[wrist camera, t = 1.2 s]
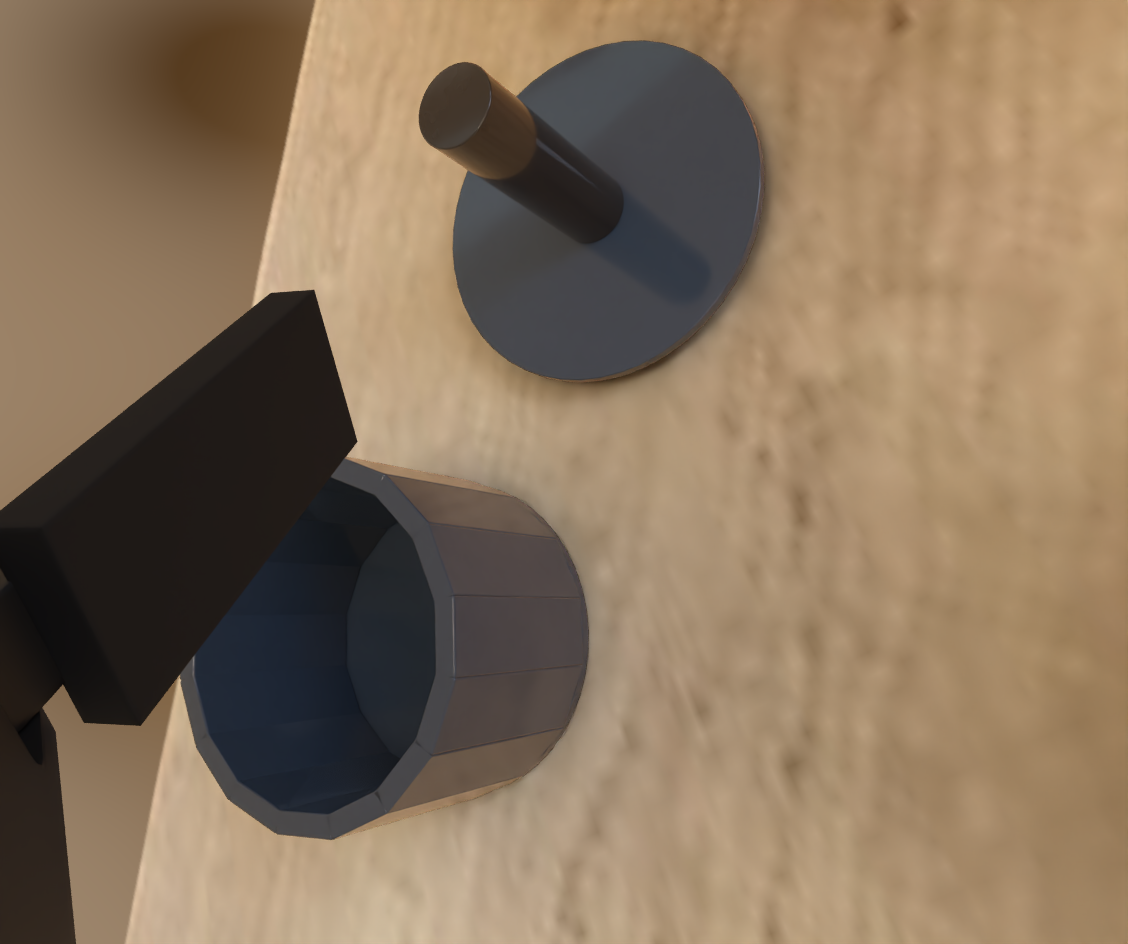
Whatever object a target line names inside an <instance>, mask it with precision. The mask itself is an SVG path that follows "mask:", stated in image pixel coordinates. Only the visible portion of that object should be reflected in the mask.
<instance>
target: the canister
mask: <svg viewBox="0 0 1128 944" xmlns="http://www.w3.org/2000/svg"><path fill="white" fill-rule="evenodd" d="M588 634H589V630H588V620H587V610H586V605H585V600H584V595H583V591H582V587H581V584H580V581H579V578H578V575H577V572H576V569H575V567H574V565H573V563H572V561H571V559H570V556H569V554H568V552H567V550H566V549H565V547H564V546H563V544H562V542H561V541H560V539H559V538H558V536H557V535H556V533H555V532H554V531H553V530H552V528H551V527H550V526H549V525H548V524H547V523H546V521H545V520H544V519H543V518H542V517H541V516H540V515H538V514H537V513H536V512H535V511H534V510H533V509H532V508H531V507H529V506H528V505H526V504H525V503H523V502H522V501H520V500H519V499H517V498H516V497H514V496H511V495H509V494H507V493H505V492H503V491H500V490H497V489H494V488H490V487H487V486H483V485H481V484H478V483H475V482H472V481H469V480H464V479H459V478H454V477H449V476H443V475H438V474H433V473H428V472H423V471H418V470H413V469H407V468H402V467H397V466H392V465H387V464H382V463H377V462H371V461H366V460H361V459H356V458H351V457H345V459H344V460H343V461H342V462H341V464H340V465H339V466H338V468H337V469H336V470H335V472H334V473H333V474H332V476H331V477H330V478H329V480H328V481H327V482H326V483H325V485H324V486H323V487H322V489H321V490H320V491H319V493H318V494H317V495H316V497H315V498H314V499H313V500H312V502H311V503H310V504H309V506H308V507H307V508H306V510H305V511H304V512H303V514H302V515H301V516H300V518H299V519H298V520H297V521H296V523H295V524H294V525H293V527H292V528H291V529H290V531H289V532H288V533H287V535H286V536H285V537H284V538H283V540H282V541H281V542H280V544H279V545H278V546H277V548H276V549H275V550H274V552H273V553H272V554H271V556H270V557H269V558H268V559H267V561H266V562H265V563H264V565H263V566H262V567H261V569H260V570H259V571H258V573H257V574H256V575H255V576H254V578H253V579H252V580H251V582H250V583H249V584H248V586H247V587H246V588H245V590H244V591H243V592H242V594H241V595H240V596H239V597H238V599H237V600H236V601H235V603H234V604H233V605H232V607H231V608H230V609H229V611H228V612H227V613H226V615H225V616H224V617H223V618H222V620H221V621H220V622H219V624H218V625H217V626H216V628H215V629H214V630H213V632H212V633H211V634H210V635H209V637H208V638H207V639H206V641H205V642H204V643H203V645H202V646H201V647H200V649H199V650H198V651H197V653H196V654H195V655H194V656H193V658H192V659H191V660H190V662H189V663H188V664H187V666H186V667H185V668H184V670H183V671H182V672H181V673H180V679H181V687H182V691H183V695H184V699H185V703H186V707H187V711H188V716H189V720H190V724H191V728H192V732H193V736H194V740H195V744H196V748H197V750H198V751H199V753H200V755H201V756H202V758H203V759H204V761H205V763H206V764H207V766H208V768H209V769H210V771H211V773H212V774H213V776H214V777H215V779H216V781H217V782H218V784H219V786H220V787H221V789H222V791H223V792H224V794H225V796H226V797H227V799H228V800H230V801H231V802H232V803H234V804H235V805H236V806H238V807H239V808H241V809H242V810H243V811H245V812H246V813H248V814H249V815H250V816H252V817H253V818H255V819H256V820H257V821H259V822H260V823H262V824H263V825H264V826H266V827H267V828H269V829H270V830H271V831H273V832H274V833H276V834H278V835H287V836H297V837H307V838H317V839H326V840H334V839H337V838H341V837H344V836H348V835H351V834H355V833H358V832H361V831H365V830H368V829H372V828H375V827H379V826H382V825H385V824H389V823H392V822H396V821H399V820H403V819H406V818H409V817H413V816H416V815H420V814H423V813H427V812H430V811H433V810H437V809H440V808H444V807H447V806H451V805H454V804H457V803H461V802H464V801H468V800H471V799H475V798H478V797H480V796H482V795H484V794H486V793H488V792H490V791H493V790H495V789H498V788H500V787H503V786H506V785H508V784H510V783H512V782H513V781H515V780H517V779H519V778H521V777H523V776H524V775H526V774H527V773H528V772H529V771H530V770H531V769H533V768H534V767H535V766H536V765H538V764H539V763H540V761H541V760H542V759H543V758H544V757H545V756H546V755H547V754H548V753H549V752H550V751H551V750H552V748H553V747H554V745H555V744H556V743H557V741H558V740H559V738H560V737H561V736H562V734H563V732H564V730H565V729H566V727H567V725H568V723H569V721H570V719H571V717H572V715H573V713H574V710H575V708H576V705H577V702H578V700H579V697H580V694H581V690H582V686H583V682H584V678H585V673H586V666H587V658H588Z"/></svg>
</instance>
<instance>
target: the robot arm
mask: <svg viewBox="0 0 1128 944" xmlns="http://www.w3.org/2000/svg"><path fill="white" fill-rule="evenodd" d="M356 443H357V438H356V435H355V431H354V428H353V424H352V421H351V417H350V414H349V410H348V407H347V403H346V400H345V396H344V393H343V389H342V386H341V382H340V379H339V375H338V372H337V368H336V365H335V361H334V358H333V354H332V351H331V347H330V344H329V340H328V337H327V333H326V330H325V326H324V323H323V319H322V315H321V312H320V308H319V305H318V301H317V298H316V294H315V291H314V290H306V291H292V292H278V293H270V294H269V295H268V296H266V297H265V298H264V299H263V300H262V301H260V302H259V303H258V304H257V305H255V306H254V307H253V308H252V309H250V310H249V311H248V312H247V313H245V314H244V315H243V316H242V317H240V318H239V319H238V320H237V321H235V322H234V323H233V324H232V325H230V326H229V327H228V328H227V329H226V330H224V331H223V332H222V333H221V334H219V335H218V336H217V337H216V338H214V339H213V340H212V341H211V342H209V343H208V344H207V345H206V346H204V347H203V348H202V349H201V350H199V351H198V352H197V353H196V354H194V355H193V356H192V357H191V358H189V359H188V360H187V361H186V362H184V363H183V364H182V365H181V366H179V368H177V369H176V370H175V371H173V372H172V373H171V374H169V375H168V376H167V377H166V378H165V379H163V380H162V381H161V382H160V383H158V384H157V385H156V386H155V387H153V388H152V389H151V390H150V391H148V392H147V393H146V394H145V395H143V396H142V397H141V398H140V399H139V400H137V401H136V402H135V403H133V404H132V405H131V406H130V407H128V408H127V409H126V410H125V411H123V413H121V414H120V415H118V416H117V417H116V418H115V419H114V420H112V421H111V422H110V423H109V424H107V425H106V426H105V427H104V428H102V429H101V430H100V431H99V432H97V433H96V434H95V435H94V436H92V437H91V438H90V439H89V440H87V441H86V442H85V443H84V444H82V445H81V446H80V447H79V448H78V449H76V450H75V451H74V452H72V453H71V454H70V455H69V456H67V457H66V458H65V459H64V460H63V461H62V462H60V463H59V464H58V465H56V466H55V467H54V468H53V469H51V470H50V471H49V472H48V473H46V474H45V475H44V476H43V477H41V478H40V479H39V480H38V481H36V482H35V483H34V484H33V485H32V486H30V487H29V488H28V489H26V490H25V491H24V492H23V493H21V494H20V495H19V496H18V497H16V498H15V499H14V500H13V501H12V502H10V503H9V504H8V505H7V506H5V507H4V508H3V509H2V510H0V944H76V939H75V929H74V919H73V909H72V898H71V888H70V877H69V866H68V856H67V846H66V836H65V825H64V815H63V804H62V794H61V784H60V773H59V763H58V752H57V742H56V732H55V730H54V728H53V726H52V724H51V723H50V721H49V719H48V717H47V715H46V713H45V712H44V710H43V708H42V707H43V706H44V704H46V703H47V701H48V700H49V699H50V698H51V697H52V696H53V695H54V693H56V691H57V690H58V689H59V688H60V687H61V686H62V685H64V687H65V689H66V690H67V692H68V694H69V696H70V698H71V700H72V702H73V703H74V705H75V707H76V709H77V711H78V712H79V715H80V716H81V718H82V720H83V722H84V723H97V724H117V725H136V726H141V725H142V723H143V722H144V721H145V719H146V718H147V717H148V715H149V714H150V713H151V711H152V710H153V709H154V708H155V706H156V705H157V703H158V702H159V701H160V700H161V698H162V697H163V696H164V694H165V693H166V692H167V691H168V689H169V688H170V687H171V685H172V684H173V683H174V681H175V680H176V679H177V677H178V676H179V675H180V673H181V672H182V671H183V670H184V668H185V667H186V666H187V664H188V663H189V662H190V660H191V659H192V658H193V656H194V655H195V654H196V653H197V651H198V650H199V649H200V647H201V646H202V645H203V643H204V642H205V641H206V639H207V638H208V637H209V635H210V634H211V633H212V632H213V630H214V629H215V628H216V626H217V625H218V624H219V622H220V621H221V620H222V618H223V617H224V616H225V615H226V613H227V612H228V611H229V609H230V608H231V607H232V605H233V604H234V603H235V601H236V600H237V599H238V597H239V596H240V595H241V594H242V592H243V591H244V590H245V588H246V587H247V586H248V584H249V583H250V582H251V580H252V579H253V578H254V576H255V575H256V574H257V573H258V571H259V570H260V569H261V567H262V566H263V565H264V563H265V562H266V561H267V559H268V558H269V557H270V556H271V554H272V553H273V552H274V550H275V549H276V548H277V546H278V545H279V544H280V542H281V541H282V540H283V538H284V537H285V536H286V535H287V533H288V532H289V531H290V529H291V528H292V527H293V525H294V524H295V523H296V521H297V520H298V519H299V518H300V516H301V515H302V514H303V512H304V511H305V510H306V508H307V507H308V506H309V504H310V503H311V502H312V500H313V499H314V498H315V497H316V495H317V494H318V493H319V491H320V490H321V489H322V487H323V486H324V485H325V483H326V482H327V481H328V480H329V478H330V477H331V476H332V474H333V473H334V472H335V470H336V469H337V468H338V466H339V465H340V464H341V462H342V461H343V460H344V459H345V457H346V456H347V455H348V453H349V452H350V451H351V449H352V448H353V447H354V445H355V444H356Z"/></svg>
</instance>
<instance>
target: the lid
mask: <svg viewBox="0 0 1128 944" xmlns="http://www.w3.org/2000/svg"><path fill="white" fill-rule="evenodd" d="M419 126H420V130H421V133H422V135H423V137H424V139H425V140H426V141H427V143H429V144H430V145H431V146H432V147H434V148H435V149H437V150H438V151H440V152H441V153H443V154H444V155H446V156H447V157H449V158H450V159H452V160H453V161H455V162H456V163H458V164H459V165H461V166H462V167H464V168H465V169H467V170H468V171H467V174H466V177H465V180H464V183H463V185H462V188H461V192H460V196H459V200H458V204H457V208H456V215H455V222H454V229H453V259H454V270H455V275H456V280H457V285H458V289H459V292H460V295H461V298H462V301H463V304H464V306H465V308H466V310H467V312H468V314H469V316H470V318H471V321H472V322H473V324H474V325H475V327H476V328H477V330H478V331H479V333H480V334H481V336H482V337H483V338H484V339H485V340H486V341H487V342H488V343H489V344H490V346H491V347H492V348H493V349H494V350H495V351H497V352H498V353H499V354H500V355H502V356H503V357H504V358H505V359H507V360H508V361H510V362H511V363H513V364H515V365H517V366H519V367H520V368H522V369H524V370H526V371H529V372H531V373H534V374H537V375H540V376H542V377H545V378H549V379H554V380H559V381H564V382H594V381H603V380H608V379H612V378H616V377H620V376H624V375H627V374H630V373H632V372H635V371H637V370H640V369H642V368H645V367H647V366H649V365H651V364H652V363H654V362H656V361H658V360H660V359H661V358H663V357H665V356H667V355H668V354H670V353H671V352H672V351H674V350H675V349H676V348H678V347H679V346H680V345H682V344H683V343H685V342H686V341H687V340H688V339H689V338H690V337H691V336H693V335H694V334H695V333H696V332H697V331H698V330H699V329H700V328H701V327H702V326H703V325H704V324H705V323H706V322H707V321H708V320H709V318H710V317H711V316H712V315H713V314H714V313H715V311H716V310H717V309H718V308H719V307H720V306H721V304H722V303H723V301H724V300H725V298H726V297H727V295H728V294H729V292H730V291H731V289H732V288H733V286H734V285H735V283H736V281H737V279H738V277H739V275H740V273H741V271H742V270H743V268H744V266H745V264H746V262H747V259H748V257H749V254H750V251H751V249H752V246H753V243H754V241H755V238H756V234H757V230H758V226H759V222H760V218H761V214H762V206H763V197H764V162H763V155H762V148H761V143H760V139H759V136H758V133H757V129H756V126H755V123H754V121H753V119H752V116H751V114H750V112H749V110H748V108H747V106H746V104H745V103H744V101H743V100H742V98H741V97H740V95H739V94H738V92H737V91H736V90H735V88H734V87H733V85H732V84H731V83H730V82H729V81H728V80H727V79H726V78H725V77H724V76H723V75H722V74H721V73H720V72H719V71H718V70H717V68H715V67H714V66H712V65H711V64H710V63H708V62H707V61H705V60H704V59H703V58H701V57H700V56H698V55H695V54H693V53H691V52H689V51H687V50H685V49H683V48H680V47H676V46H673V45H669V44H666V43H660V42H652V41H623V42H617V43H611V44H605V45H602V46H599V47H595V48H592V49H589V50H586V51H583V52H581V53H579V54H577V55H574V56H572V57H570V58H568V59H566V60H564V61H562V62H561V63H559V64H557V65H556V66H554V67H552V68H551V69H549V70H547V71H546V72H545V73H543V74H542V75H541V76H539V77H538V78H537V79H535V80H534V81H533V82H531V83H530V84H529V85H528V86H527V87H526V88H525V89H524V90H523V91H522V92H521V93H520V94H518V95H517V96H514V95H513V94H512V93H511V92H510V91H509V90H507V89H506V88H505V87H504V86H503V85H501V84H500V83H499V82H498V81H497V80H495V79H494V78H493V77H492V76H491V75H489V74H488V73H487V72H486V71H485V70H483V69H482V68H481V67H480V66H478V65H476V64H473V63H468V62H462V63H457V64H454V65H452V66H450V67H448V68H446V69H445V70H443V71H442V72H441V73H439V74H438V75H437V76H436V77H435V79H434V80H433V81H432V82H431V84H430V85H429V87H428V88H427V90H426V92H425V94H424V96H423V99H422V102H421V105H420V110H419Z"/></svg>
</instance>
